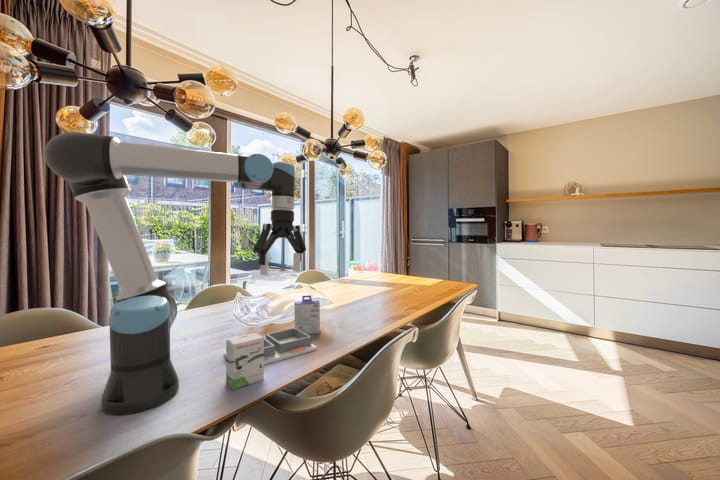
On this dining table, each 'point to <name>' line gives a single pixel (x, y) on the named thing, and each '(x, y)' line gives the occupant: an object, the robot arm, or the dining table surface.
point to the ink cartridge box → (307, 315)
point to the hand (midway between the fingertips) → (281, 273)
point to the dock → (285, 345)
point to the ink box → (244, 360)
